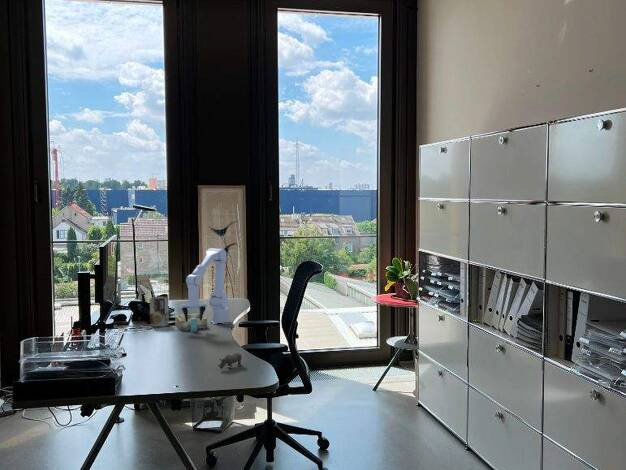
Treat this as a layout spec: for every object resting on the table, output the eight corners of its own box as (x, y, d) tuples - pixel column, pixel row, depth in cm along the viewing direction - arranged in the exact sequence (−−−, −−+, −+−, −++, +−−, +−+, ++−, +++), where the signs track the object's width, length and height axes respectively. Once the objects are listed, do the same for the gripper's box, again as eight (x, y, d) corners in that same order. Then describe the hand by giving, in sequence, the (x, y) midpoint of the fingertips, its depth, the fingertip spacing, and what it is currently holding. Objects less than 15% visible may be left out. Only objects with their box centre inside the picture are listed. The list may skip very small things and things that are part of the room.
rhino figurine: (214, 370, 250) (214, 356, 250) (238, 363, 261) (238, 350, 260) (220, 372, 248) (220, 358, 247) (244, 365, 258) (244, 352, 258)
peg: (196, 330, 323) (196, 317, 323) (197, 331, 320) (197, 319, 320) (189, 330, 322) (189, 318, 321) (191, 332, 319) (191, 319, 318)
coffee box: (169, 324, 338) (168, 296, 337) (165, 326, 331) (165, 298, 330) (153, 323, 339) (153, 296, 338) (149, 326, 332) (149, 298, 331)
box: (201, 322, 342) (201, 313, 342) (207, 328, 329) (207, 318, 328) (175, 324, 336) (175, 315, 336) (180, 330, 323) (180, 320, 322)
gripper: (181, 298, 313) (181, 323, 314) (208, 296, 319) (208, 321, 320) (179, 296, 320) (179, 320, 320) (205, 294, 325) (205, 318, 326)
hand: (193, 320), depth 321 cm, fingers open, 7 cm apart
